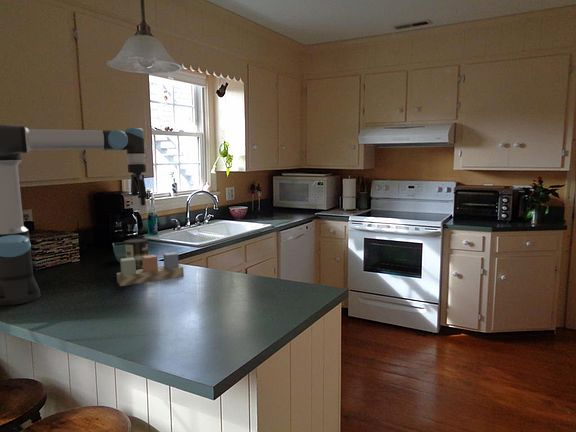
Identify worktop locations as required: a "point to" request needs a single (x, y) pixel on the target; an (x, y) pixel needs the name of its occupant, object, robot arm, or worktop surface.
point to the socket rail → (149, 276)
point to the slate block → (171, 260)
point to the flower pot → (119, 250)
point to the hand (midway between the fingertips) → (139, 211)
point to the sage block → (128, 266)
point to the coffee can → (136, 250)
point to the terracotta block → (150, 263)
